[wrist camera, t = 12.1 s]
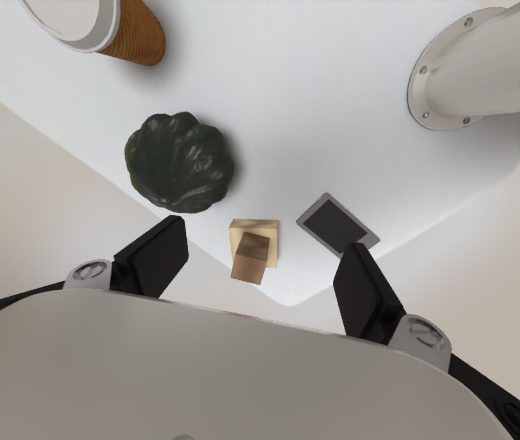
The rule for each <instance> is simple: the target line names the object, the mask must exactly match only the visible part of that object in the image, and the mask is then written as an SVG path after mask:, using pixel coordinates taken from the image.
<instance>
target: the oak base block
mask: <svg viewBox="0 0 520 440" xmlns="http://www.w3.org/2000/svg"><path fill="white" fill-rule="evenodd" d="M243 232H248V233H252V234H256V235H260V236H265V237H269V238H270V241H269V249H268V257H267V263H266V267H265V268H277V249H278V220H241V219H233V221H232V223H231V225H230V227H229V233H230V241H231V250H232V258H233V263H234V257H235V253H236V251H237V248H238V245H239V243H240V240H241V238H242V235H243Z"/></svg>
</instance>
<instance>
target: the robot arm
mask: <svg viewBox="0 0 520 440" xmlns="http://www.w3.org/2000/svg"><path fill="white" fill-rule="evenodd" d="M420 71H421V73H420ZM408 104H409V108H410V111H411V113H412V115H413V117H414V118H415V120H417V121H418V122H419V123H420V124H421V125H423V126H425V127H426V128H429V129H433V130H455V129H459V128H463V127H466V126H468V125H471V124H473V123H475V122H477V121H479V120H480V119H482V118H484V117H485V116H487V115H495V114H508V113H520V2H519V3H517V4H515V5H514V6H512V7H510V8H508V9H506V8H502V7H492V8H491V7H490V8H486V9H481V10H477V11H475V12H473V13H471V14H468V15H466V16H464V17H462V18H461V19H459V20H458V21H456V22H454V23H453V24H451V25H450V26H449V27H447V28H446V29H445V30H443V31H442V32H441V33H440V34H439V35H438V36H437V37H436V38H435V39H434V40H433V41H432V42H431V43H430V44H429V45H428V47H427V48H426V49H425V50H424V52H423V53H422V55H421V57H420V58H419V60H418V62H417V63H416V66H415V68H414V70H413V72H412V75H411V79H410V82H409V87H408ZM422 115H423V117H422ZM188 257H189V254H188V245H187V237H186V228H185V221H184V219H182V217H181V216H176V215H169V216H168V217H166V218H165V219H164V220H162V221H161V222H160V223H158V224H157V225H155V226H154V227H153V228H151V229H150V230H149V231H147V232H146V233H144V234H143V235H142V236H140V237H139V238H137V239H136V240H135V241H134V242H132V243H131V244H129V245H128V246H126V247H125V248H124V249H122V250H121V251H120V252H118V253H117V254H115V255H114V259H115V261H113V262H112V263H111V262H110V261H109V260H105V259H98V260H92V261H89V262H86V263H83V264H81V265H79V266H77V267H76V268H74V269H73V270H72V271H71V272H70V273H69V275H68V276H67V279H66V280H65V281H62V282H58V283H55V284H51V285H48V286H44V287H41V288H37V289H34V290H30V291H27V292H24V293H20V294H16V295H13V296H10V297H6V298H3V299H0V440H520V400H519V399H517V398H516V397H514V396H513V395H511V394H510V393H508V392H507V391H506V390H504V389H503V388H501V387H500V386H498V385H497V384H496V383H494V382H493V381H491V380H490V379H488V378H487V377H486V376H484V375H482V374H481V373H480V372H478V371H477V370H475V369H474V368H473V367H471V366H470V365H468V364H467V363H465V362H464V361H462V360H461V359H459V358H458V357H457V356H455V355H454V354H453V353H451V350H452V348H451V343H450V341H449V339H448V338H447V336H446V335H445V334H444V333H443V332H442V331H441V330H440V329H439V328H438V327H437V326H436V325H434V324H433V323H431V322H430V321H428V320H426V319H424V318H423V317H420V316H417V315H413V314H407V313H406V311H405V310H404V308H403V305H402V304H401V302H400V301H399V299H398V297H397V296H396V294H395V293H394V291H393V290H392V288H391V286H390V284H389V283H388V281H387V280H386V278H385V276H384V275H383V273H382V272H381V270H380V269H379V267H378V265H377V264H376V262H375V261H374V259H373V257H372V256H371V254H370V253H369V251H368V249H367V248H366V246H365V245H364V243H359V242H351V243H350V244H347V245H346V247H345V250H344V252H343V255H342V258H341V261H340V264H339V266H338V269H337V272H336V275H335V277H334V280H333V286H334V290H335V294H336V298H337V302H338V306H339V309H340V313H341V317H342V320H343V324H344V327H345V331H346V335H341V334H336V333H331V332H327V331H322V330H318V329H313V328H307V327H302V326H298V325H293V324H287V323H283V322H277V321H273V320H268V319H263V318H257V317H251V316H247V315H242V314H237V313H232V312H227V311H221V310H216V309H211V308H205V307H201V306H195V305H190V304H185V303H179V302H174V301H169V300H164V299H158V298H159V297H160V295H161V294H162V293H163V292H164V290H165V289H166V288H167V286H168V285H169V284H170V283H171V281H172V280H173V279H174V277H175V276H176V275H177V273H178V272H179V271H180V269H181V268H182V267H183V266H184V264H185V263H186V262H187V260H188Z"/></svg>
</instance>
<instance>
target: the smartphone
mask: <svg viewBox="0 0 520 440" xmlns="http://www.w3.org/2000/svg"><path fill="white" fill-rule="evenodd" d="M296 223H297V225H299V226H300V227H301V228H302V229H304V230H305V231H306V232H307V233H309V234H310V235H311V236H312V237H314V238H315V239H316V240H317V241H319V242H320V243H321V244H322V245H324V246H325V247H326V248H327V249H329V250H330V251H331V252H332V253H334V254H335V255H336V256H337V257H339V258H340V259H341V258H342V255H343V252H344V250H345V247H346V245H347V244H350V243H351V242H359V243H364V245H365V246H366V248H367V249H370V248H371V247H373V246H374V245H375V244H377V243H378V242H380V239H379V238H378V237H377V236H376V235H375V234H374V233H372V232H371V231H370V230H369V229H368V228H367V227H366V226H365V225H363V224H362V223H361V222H360V221H359V220H358V219H357V218H356V217H354V216H353V215H352V214H351V213H350V212H349V211H348V210H347V209H345V208H344V207H343V206H342V205H341V204H340V203H339V202H337V201H336V200H335V199H334V198H333V197H332V196H331V195H330V194H328V193H325V194H324V195H323V196H321V197H320V198H319V199H318V200H317V201H316V202H315V203H314V204H313V205H312V206H311V207H310V208H309V209H308V210H307V211H306V212H305V213H304V214H303V215H302V216H301V217H300V218H299V219H298V220H297V221H296Z"/></svg>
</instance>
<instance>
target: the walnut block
mask: <svg viewBox="0 0 520 440" xmlns="http://www.w3.org/2000/svg"><path fill="white" fill-rule="evenodd" d="M269 241H270V238H269V237H265V236H260V235H256V234H252V233H248V232H243V235H242V238H241V240H240V243H239V245H238V248H237V251H236V253H235V257H234V263H233V268H232V273H231V278H234V279H238V280H242V281H246V282H250V283H254V284H258V285H260V284H261V280H262V277H263V274H264V270H265V267H266V263H267V257H268V249H269Z"/></svg>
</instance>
